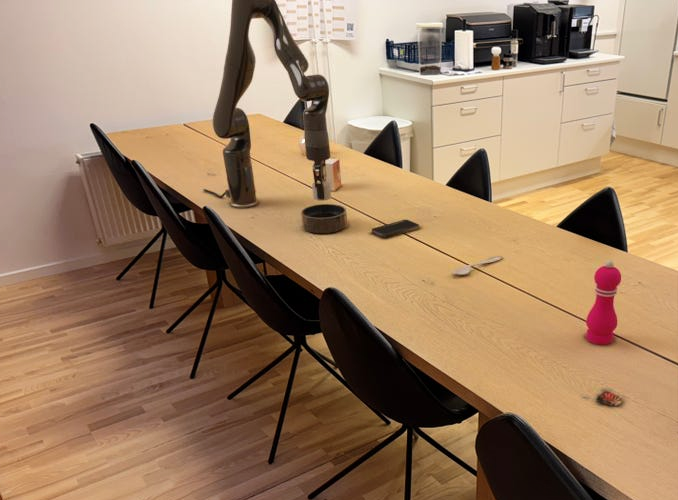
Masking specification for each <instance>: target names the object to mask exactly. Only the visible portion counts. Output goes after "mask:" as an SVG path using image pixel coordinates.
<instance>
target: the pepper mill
mask: <svg viewBox="0 0 678 500" xmlns="http://www.w3.org/2000/svg"><path fill="white" fill-rule="evenodd" d="M604 264H605V265H602V266H600V267H598V269H597V270H596V271H595V273H594V276H593V280H594V283H595V284H596V285H595V286H594V288H595V289H594V293H595V301H594V303H593V306H592V307H591V309H590V310H589V312H588V314H587V316H586V320H585V324H586V327H587V330H586V336H585V337H586V340H587V341H588V342H589V343H592V344H595V345H608V344H611V343H613V341H614V335H615V333H614V331H616V329H617V327H618V316H617V313H616V310H615V305H614V304H615V303H614V302H615V296H616V295H617V294H618V286H619V285H620V284H621V282H622V273H621V272H620V270H619V269H618V268H617V267H616V266H614V261H613V260H610V259H609V260H607V261H606V262H605V263H604Z"/></svg>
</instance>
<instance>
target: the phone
mask: <svg viewBox="0 0 678 500" xmlns="http://www.w3.org/2000/svg"><path fill="white" fill-rule="evenodd" d="M418 229H420V224H419V223H416V222H414V221H412V220H409V219H402V220H398V221H395V222H391V223H389V224H388V223H386V224H384V225H380V226H377V227H372V228H371V234H373V235H375V236H377V237H379V238H382V239H389V238H392V237H395V236H399V235H402V234H406V233H409V232H412V231H416V230H418Z"/></svg>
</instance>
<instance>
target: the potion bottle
mask: <svg viewBox="0 0 678 500" xmlns="http://www.w3.org/2000/svg"><path fill="white" fill-rule="evenodd" d="M298 148H299V150H300V152H301V153H302V154H304V155H306V148H305V138H304V134H302V135H301V136H300V137H299V139H298Z"/></svg>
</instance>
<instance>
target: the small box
mask: <svg viewBox="0 0 678 500" xmlns="http://www.w3.org/2000/svg"><path fill="white" fill-rule="evenodd" d="M325 163H326V172H327V174H326V175H327V177H326V182H329V183H330V188H331V192H336V190H338V188H340V187H342V175H341V164H340V163H341V162H340V159H339V158H331V157H330V158H329V159H328V160H326V162H325Z"/></svg>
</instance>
